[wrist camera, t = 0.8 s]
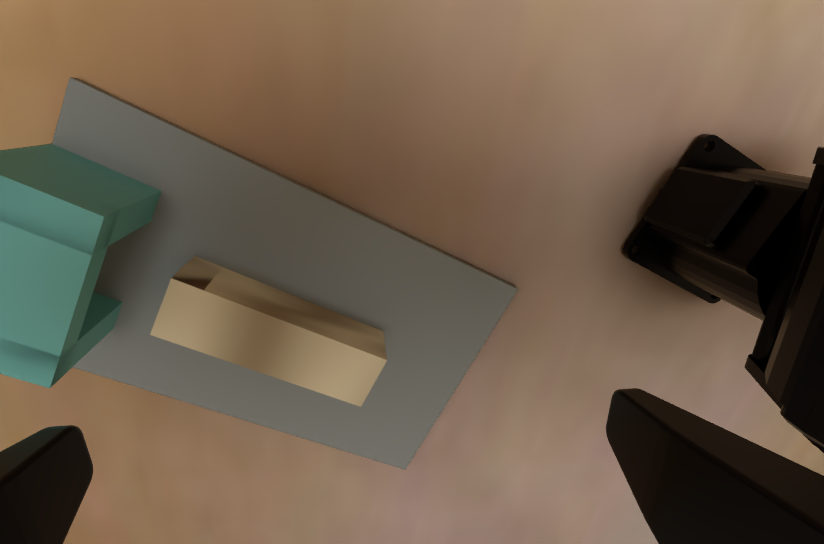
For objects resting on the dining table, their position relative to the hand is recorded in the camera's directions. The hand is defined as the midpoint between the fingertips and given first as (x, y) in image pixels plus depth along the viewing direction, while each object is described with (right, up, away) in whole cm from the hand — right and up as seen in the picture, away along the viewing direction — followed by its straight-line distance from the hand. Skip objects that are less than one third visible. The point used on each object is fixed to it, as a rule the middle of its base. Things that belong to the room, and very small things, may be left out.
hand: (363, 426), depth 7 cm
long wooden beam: (-5, 0, +13) cm, 14 cm away
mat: (-6, +1, +13) cm, 14 cm away
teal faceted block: (-13, +4, +10) cm, 17 cm away
